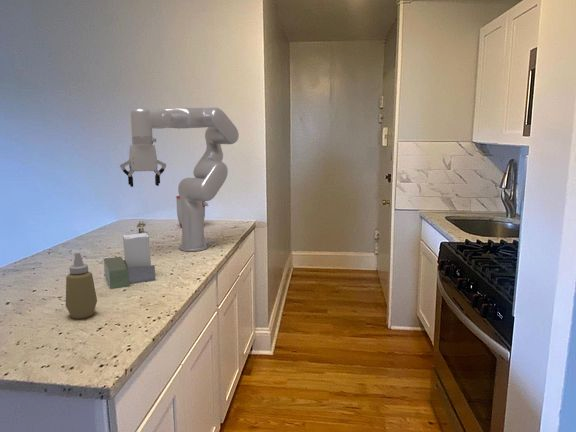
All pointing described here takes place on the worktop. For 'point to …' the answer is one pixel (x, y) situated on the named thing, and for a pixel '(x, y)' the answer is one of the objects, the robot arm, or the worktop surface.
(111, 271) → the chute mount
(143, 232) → the beige brown figurine
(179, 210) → the citrus juicer
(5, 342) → the worktop surface
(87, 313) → the squeeze bottle
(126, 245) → the skincare box
